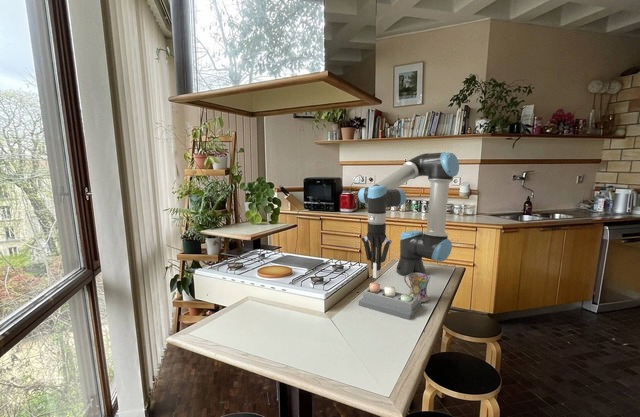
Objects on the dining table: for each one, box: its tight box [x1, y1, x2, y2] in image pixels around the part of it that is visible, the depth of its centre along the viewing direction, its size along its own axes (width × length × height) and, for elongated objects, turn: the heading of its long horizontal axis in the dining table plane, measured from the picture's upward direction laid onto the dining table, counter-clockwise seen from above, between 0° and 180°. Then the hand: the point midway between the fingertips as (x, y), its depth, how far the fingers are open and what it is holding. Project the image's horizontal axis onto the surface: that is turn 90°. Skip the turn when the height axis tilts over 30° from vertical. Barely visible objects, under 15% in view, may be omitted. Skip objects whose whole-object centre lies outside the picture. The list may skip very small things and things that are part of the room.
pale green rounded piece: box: [401, 293, 412, 302], centre depth 125 cm, size 4×4×4 cm
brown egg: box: [369, 282, 381, 294], centre depth 133 cm, size 4×4×4 cm
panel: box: [358, 286, 422, 321], centre depth 129 cm, size 14×22×5 cm, turn 54°
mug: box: [403, 273, 431, 303], centre depth 135 cm, size 12×9×11 cm
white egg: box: [384, 285, 396, 298], centre depth 128 cm, size 4×4×4 cm
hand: (375, 277), depth 131 cm, fingers closed
